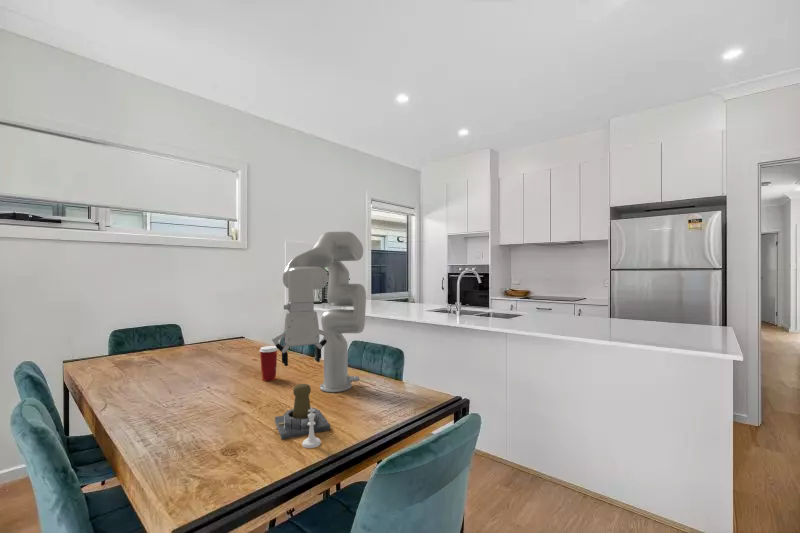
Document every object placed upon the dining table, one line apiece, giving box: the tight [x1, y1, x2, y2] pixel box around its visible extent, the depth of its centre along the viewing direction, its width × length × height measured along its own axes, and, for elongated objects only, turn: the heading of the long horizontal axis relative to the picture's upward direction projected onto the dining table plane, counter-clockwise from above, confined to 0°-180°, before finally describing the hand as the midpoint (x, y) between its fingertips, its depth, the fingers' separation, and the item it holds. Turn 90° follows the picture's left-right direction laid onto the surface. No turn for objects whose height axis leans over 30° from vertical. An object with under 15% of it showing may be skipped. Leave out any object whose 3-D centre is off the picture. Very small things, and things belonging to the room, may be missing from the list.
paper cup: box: [259, 345, 279, 382], centre depth 167 cm, size 8×8×14 cm
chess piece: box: [301, 406, 322, 449], centre depth 105 cm, size 5×5×10 cm
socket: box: [274, 406, 331, 440], centre depth 117 cm, size 14×14×4 cm
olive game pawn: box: [292, 383, 311, 418], centre depth 118 cm, size 6×6×11 cm
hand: (301, 363), depth 118 cm, fingers open, 9 cm apart
